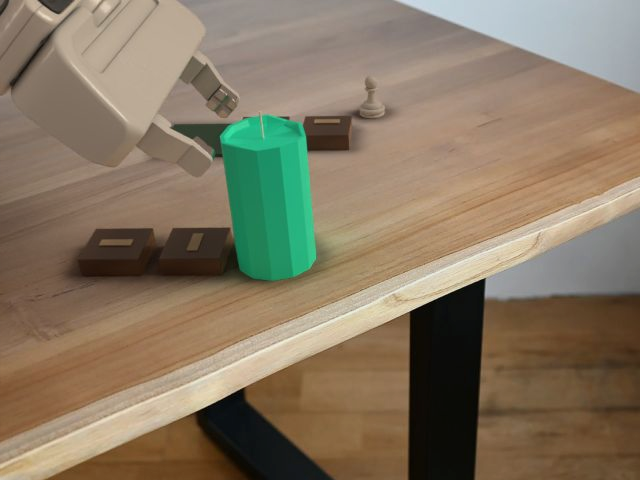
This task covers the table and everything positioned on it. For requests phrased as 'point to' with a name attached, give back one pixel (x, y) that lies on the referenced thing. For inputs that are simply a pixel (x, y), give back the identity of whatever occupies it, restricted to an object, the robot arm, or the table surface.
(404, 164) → the table surface
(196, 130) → the mat
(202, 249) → the front word
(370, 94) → the pawn
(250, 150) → the candle
